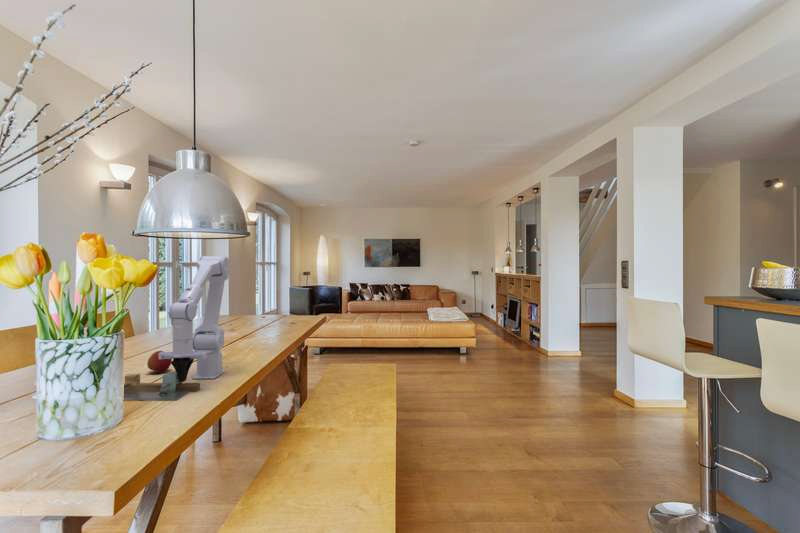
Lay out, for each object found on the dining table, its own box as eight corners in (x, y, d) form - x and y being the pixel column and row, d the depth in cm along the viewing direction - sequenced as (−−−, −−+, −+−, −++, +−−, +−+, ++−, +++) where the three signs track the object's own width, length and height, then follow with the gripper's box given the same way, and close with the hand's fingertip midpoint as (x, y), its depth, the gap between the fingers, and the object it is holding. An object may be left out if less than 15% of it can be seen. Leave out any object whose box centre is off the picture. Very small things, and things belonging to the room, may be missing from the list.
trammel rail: (126, 388, 132) (126, 373, 132) (200, 388, 133) (200, 373, 133) (109, 397, 124) (109, 380, 124) (188, 396, 125) (188, 380, 125)
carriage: (169, 387, 133) (169, 371, 133) (182, 387, 133) (182, 371, 133) (154, 396, 124) (154, 379, 124) (167, 396, 125) (167, 379, 124)
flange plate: (117, 392, 128) (117, 390, 128) (188, 392, 129) (188, 390, 129) (102, 400, 121) (102, 397, 121) (176, 400, 122) (176, 397, 122)
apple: (175, 372, 152) (175, 350, 152) (151, 376, 146) (151, 354, 146) (167, 368, 157) (167, 347, 157) (144, 372, 151) (143, 351, 151)
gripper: (152, 341, 127) (152, 384, 127) (199, 341, 127) (199, 384, 127) (165, 337, 134) (165, 378, 134) (209, 337, 134) (209, 378, 134)
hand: (182, 381), depth 131 cm, fingers closed
